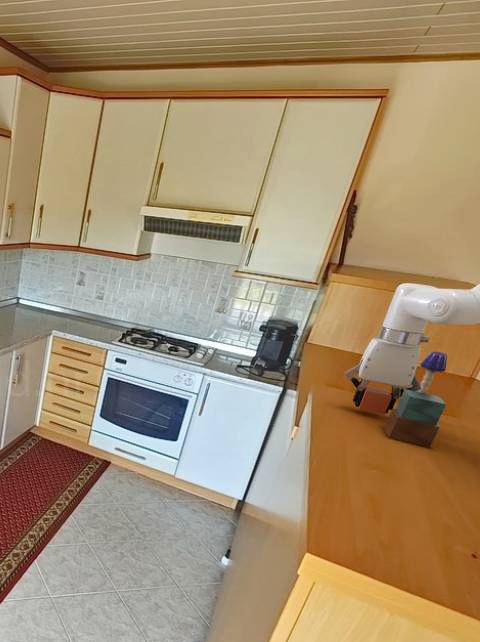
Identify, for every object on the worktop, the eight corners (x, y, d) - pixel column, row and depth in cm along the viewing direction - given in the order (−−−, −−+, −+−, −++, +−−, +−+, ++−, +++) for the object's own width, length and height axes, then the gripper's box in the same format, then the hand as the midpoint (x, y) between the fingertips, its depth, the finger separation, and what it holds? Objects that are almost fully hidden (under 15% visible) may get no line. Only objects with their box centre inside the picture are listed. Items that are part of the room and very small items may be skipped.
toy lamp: (426, 421, 120) (456, 357, 115) (403, 416, 122) (432, 353, 116) (417, 414, 125) (446, 352, 119) (395, 410, 126) (422, 348, 120)
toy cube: (381, 409, 122) (388, 390, 120) (384, 415, 117) (392, 395, 116) (356, 403, 124) (363, 385, 122) (358, 409, 120) (366, 390, 118)
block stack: (422, 437, 110) (441, 396, 107) (429, 448, 105) (450, 405, 101) (384, 427, 114) (401, 387, 110) (388, 437, 108) (407, 396, 104)
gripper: (442, 342, 113) (411, 413, 120) (353, 327, 122) (328, 395, 128) (451, 348, 107) (417, 423, 114) (356, 332, 115) (330, 403, 122)
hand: (370, 407), depth 121 cm, fingers closed on toy cube, 5 cm apart
